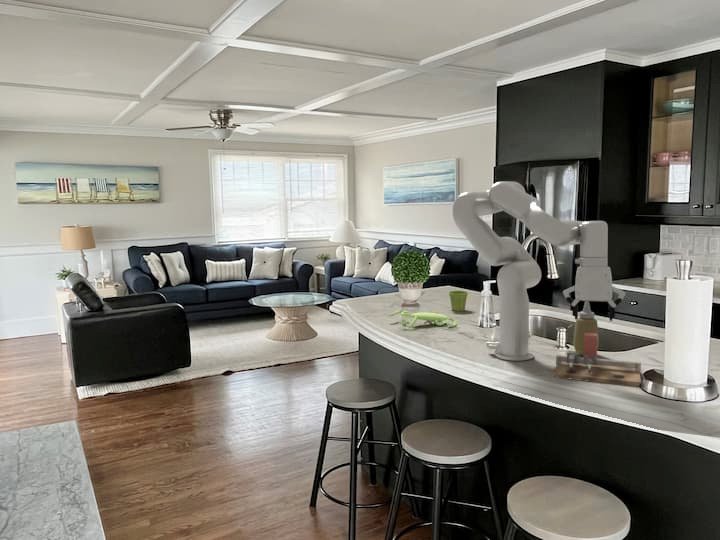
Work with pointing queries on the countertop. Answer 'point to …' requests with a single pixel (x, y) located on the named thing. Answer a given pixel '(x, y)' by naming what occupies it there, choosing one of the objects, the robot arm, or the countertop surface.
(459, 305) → the plant pot
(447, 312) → the countertop surface
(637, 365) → the trammel rail
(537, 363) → the countertop surface
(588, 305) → the squeeze bottle
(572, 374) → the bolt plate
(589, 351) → the sliding leg
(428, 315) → the figurine
